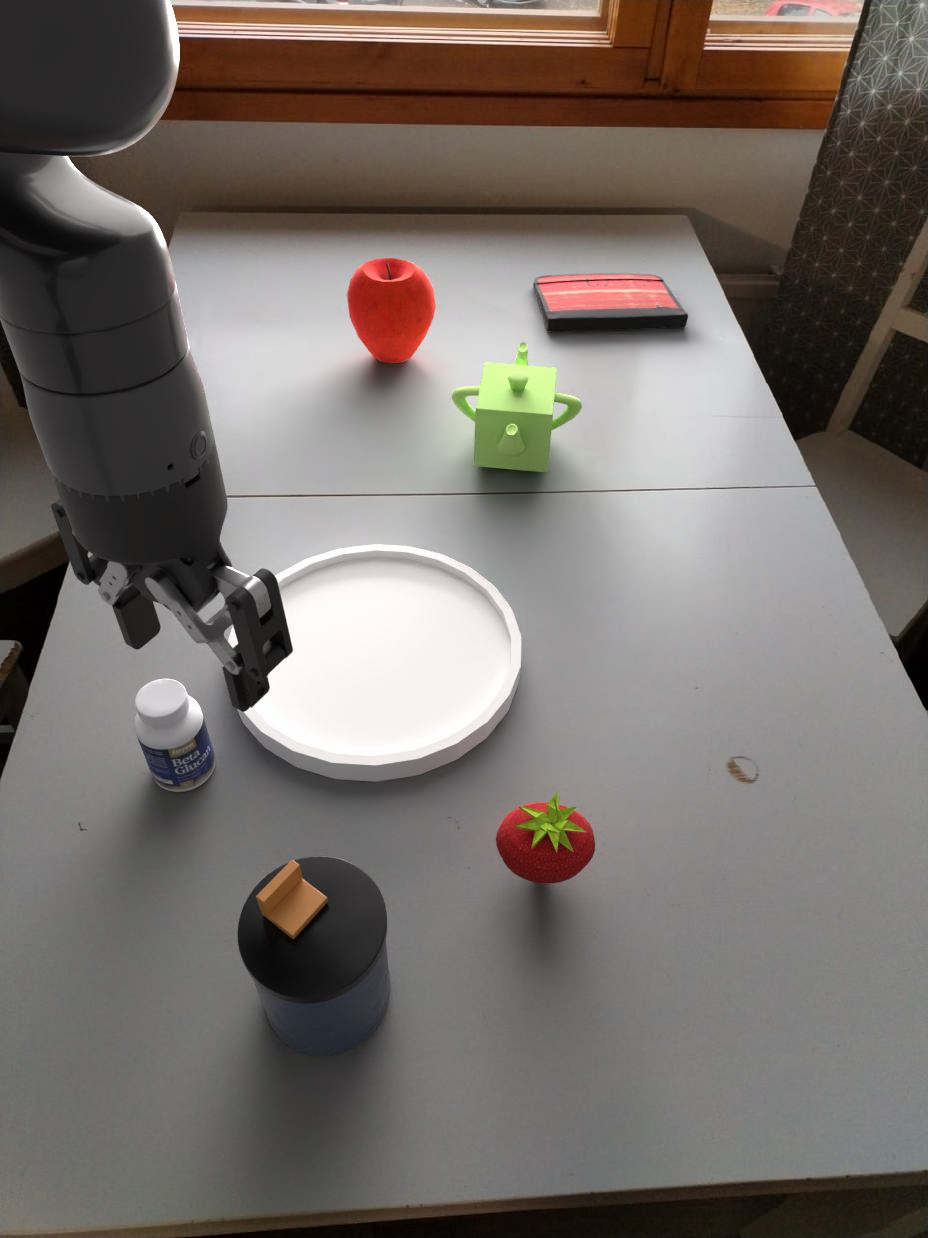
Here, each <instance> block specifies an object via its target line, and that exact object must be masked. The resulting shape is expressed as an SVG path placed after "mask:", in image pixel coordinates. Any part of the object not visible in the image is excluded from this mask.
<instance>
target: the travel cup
mask: <svg viewBox="0 0 928 1238" xmlns="http://www.w3.org/2000/svg"><path fill="white" fill-rule="evenodd" d="M293 860H294V861H295V862H296V863H298V864H299V865H300V869H301V873H302V879H304V880H305V881H306V882H308V883H309V884H310V885H312V886H313V887H314V888H315V889H317V890H318V891H319V892H321V893H322V894H323V895H325V896H326V897H327V899H328V902H327V903H326V904H325V905H324V907H323V908H322V909H321V910H320V911H319V912H318V913H317V914H316V915H315V916H314V918H313V919H312V920H311V921H310V922H309V923H308V924H307V925H306V926H305V927H304V929H303V930H302V931H301V932H300V933H299V934H298V935H297V936H296V937H295V938H294V939H292V938H291V937H289V936H288V935H287V934H286V933H284V932H283V931H282V930H281V929H279V928H278V927H277V926H276V925H275V924H273V923H272V922H271V921H270V920H268V919H267V918H266V917H265V916H263V915H262V913H261V910H260V908H259V905H258V902H257V898H256V896H257V895H258V894H259V893H260V892H261V891H262V890H263V889H264V888H265V887H266V886H267V885H268V884H269V883H270V882H271V881H272V879H273V878H274V877H275V876H276V875H277V874H278V873H279V872H280V871H281V870H282V869H283V868H284V867H285V866H286V865H287V864H288V863H289V862H286V863H284V864H281V865H280V866H278V867H276V868H275V869H274V870H272V871H271V872H269V873H268V874H267V875H266V876H265V877H263V878H262V879H261V880H260V881H259V882H258V883H257V885H255V887H253V889H252V891H251V892H250V893H249V894H248V897H247V898H246V900H245V902H244V904H243V906H242V909H241V911H240V915H239V918H238V923H237V932H236V933H237V945H238V952H239V954H240V957H241V960H242V962H243V965H244V967H245V969H246V971H247V974H248V975H249V976H250V977H251V979H252V981H253V982H254V986H255V987H256V991H257V993H258V995H259V998H260V1001H261V1004H262V1006H263V1009H264V1012H265V1015H266V1017H267V1020H268V1023H269V1025H270V1026H271V1028H272V1030H273V1031H274V1033H275V1034H276V1036H277V1037H278V1038H279V1039H280V1040H281V1041H282V1042H283V1043H284V1044H286V1045H287V1046H288V1047H289V1048H292V1049H293V1050H295V1051H297V1052H299V1053H303V1054H306V1055H310V1056H319V1057H320V1056H321V1057H322V1056H333V1055H337V1054H341V1053H343V1052H346V1051H348V1050H351V1049H353V1048H354V1047H356V1046H358V1045H360V1044H361V1043H362V1042H364V1040H366V1039H367V1038H368V1037H369V1036H370V1035H372V1033H373V1032H374V1031H375V1030H376V1029H377V1027H378V1026H379V1024H380V1023H381V1021H382V1019H383V1017H384V1014H385V1013H386V1010H387V1008H388V1005H389V1000H390V995H391V994H390V993H391V980H390V979H391V978H390V969H389V959H388V958H389V957H388V946H387V935H388V913H387V907H386V903H385V899H384V896H383V894H382V892H381V890H380V887H378V885H377V883H376V882H375V880H373V878H372V877H371V876H370V875H369V874H368V873H367V872H366V871H365V870H363V869H362V868H360V867H359V866H357V865H356V864H354V863H352V862H350V861H347V860H345V859H342V858H339V857H334V856H328V855H327V856H325V855H317V856H316V855H314V856H311V855H310V856H306V857H305V856H304V857H301V858H297V859H293Z"/></svg>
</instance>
